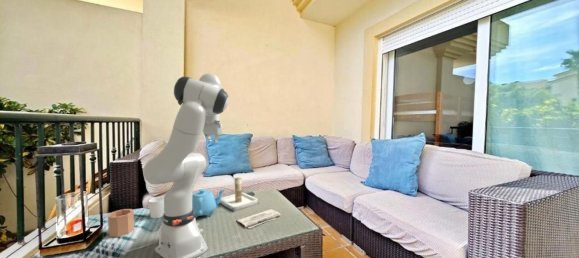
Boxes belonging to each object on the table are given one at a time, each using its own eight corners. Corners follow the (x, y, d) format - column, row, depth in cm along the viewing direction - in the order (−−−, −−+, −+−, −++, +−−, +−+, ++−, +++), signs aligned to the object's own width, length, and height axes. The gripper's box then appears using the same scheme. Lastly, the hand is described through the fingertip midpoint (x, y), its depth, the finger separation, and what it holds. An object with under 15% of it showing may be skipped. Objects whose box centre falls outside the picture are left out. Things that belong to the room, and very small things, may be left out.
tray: (259, 203, 143) (259, 199, 143) (234, 211, 131) (234, 207, 131) (242, 195, 158) (242, 192, 158) (218, 202, 145) (218, 198, 145)
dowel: (242, 201, 144) (242, 178, 143) (237, 203, 141) (237, 179, 140) (239, 199, 147) (239, 177, 146) (234, 201, 144) (233, 178, 143)
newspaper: (247, 231, 110) (247, 226, 110) (236, 224, 120) (236, 219, 120) (284, 217, 124) (283, 213, 124) (271, 212, 134) (271, 208, 134)
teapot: (179, 215, 126) (178, 191, 125) (210, 204, 141) (209, 182, 140) (195, 224, 116) (194, 197, 115) (226, 211, 132) (226, 187, 131)
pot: (135, 233, 106) (134, 213, 106) (110, 241, 100) (109, 219, 99) (131, 226, 113) (130, 207, 112) (108, 233, 106) (107, 212, 106)
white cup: (168, 214, 127) (168, 197, 127) (159, 220, 119) (158, 202, 119) (155, 213, 128) (155, 196, 127) (145, 220, 120) (145, 201, 120)
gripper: (224, 120, 137) (225, 143, 138) (210, 120, 152) (210, 140, 153) (215, 120, 133) (215, 143, 133) (200, 120, 147) (201, 141, 148)
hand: (212, 142), depth 143 cm, fingers open, 8 cm apart
